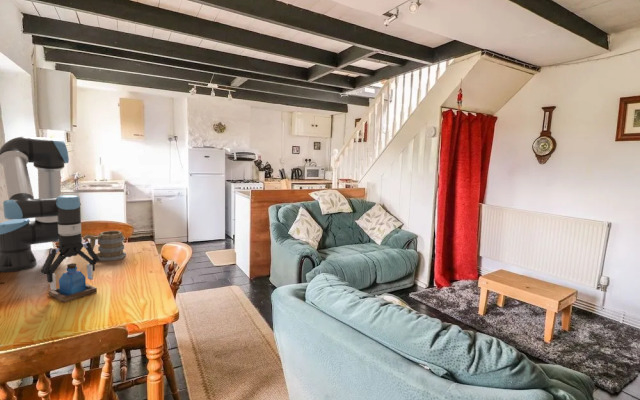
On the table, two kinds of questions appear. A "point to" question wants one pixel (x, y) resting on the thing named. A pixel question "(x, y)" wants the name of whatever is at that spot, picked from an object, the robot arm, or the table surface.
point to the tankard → (108, 245)
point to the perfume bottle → (72, 281)
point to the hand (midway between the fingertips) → (72, 284)
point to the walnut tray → (68, 298)
